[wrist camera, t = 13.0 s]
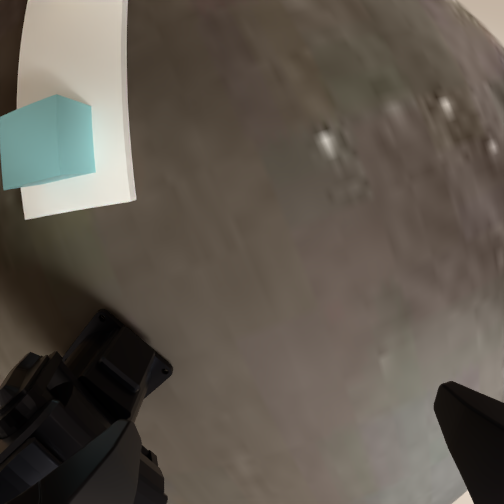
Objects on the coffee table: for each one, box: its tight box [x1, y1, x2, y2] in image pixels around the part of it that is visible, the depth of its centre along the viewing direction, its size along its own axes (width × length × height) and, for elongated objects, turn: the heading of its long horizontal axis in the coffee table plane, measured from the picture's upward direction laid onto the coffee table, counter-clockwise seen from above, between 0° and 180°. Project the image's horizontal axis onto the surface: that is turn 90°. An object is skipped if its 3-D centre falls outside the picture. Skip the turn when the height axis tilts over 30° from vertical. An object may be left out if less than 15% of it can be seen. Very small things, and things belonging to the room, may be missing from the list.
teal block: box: [0, 94, 96, 190], centre depth 14 cm, size 4×4×4 cm
